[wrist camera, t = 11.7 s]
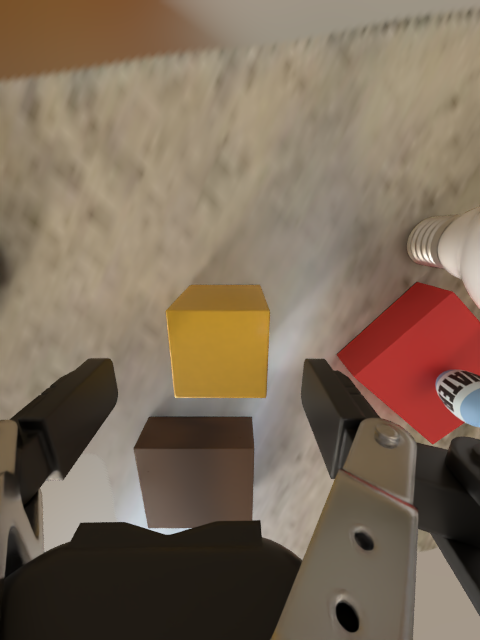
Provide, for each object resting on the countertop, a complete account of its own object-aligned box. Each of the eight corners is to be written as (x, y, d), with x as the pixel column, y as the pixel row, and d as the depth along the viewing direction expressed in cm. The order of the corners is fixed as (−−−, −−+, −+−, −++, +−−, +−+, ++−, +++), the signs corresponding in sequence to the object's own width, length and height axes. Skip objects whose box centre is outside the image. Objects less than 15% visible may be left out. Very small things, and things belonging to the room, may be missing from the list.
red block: (336, 354, 17) (387, 418, 11) (416, 282, 16) (526, 312, 10) (406, 415, 19) (481, 497, 13) (485, 355, 17) (613, 419, 11)
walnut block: (159, 490, 22) (148, 528, 19) (148, 416, 19) (133, 448, 16) (250, 490, 22) (252, 528, 19) (252, 416, 19) (254, 448, 16)
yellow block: (193, 348, 17) (174, 398, 12) (189, 284, 16) (164, 310, 11) (258, 348, 17) (266, 398, 12) (260, 284, 16) (270, 310, 11)
